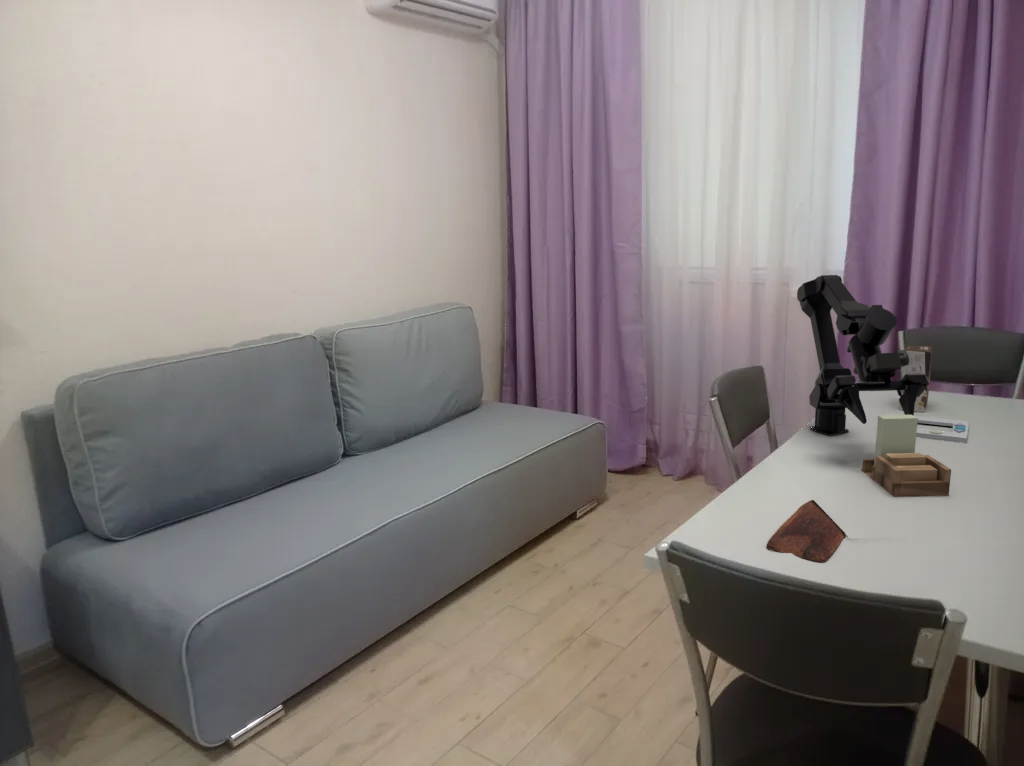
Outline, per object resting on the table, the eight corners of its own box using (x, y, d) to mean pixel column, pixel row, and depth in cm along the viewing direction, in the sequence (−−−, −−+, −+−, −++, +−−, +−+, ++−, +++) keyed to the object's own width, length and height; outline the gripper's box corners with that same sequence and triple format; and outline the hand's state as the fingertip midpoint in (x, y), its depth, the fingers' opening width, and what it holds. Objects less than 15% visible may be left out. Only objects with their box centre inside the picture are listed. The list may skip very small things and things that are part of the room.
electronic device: (969, 419, 181) (967, 436, 169) (968, 428, 182) (966, 445, 170) (886, 411, 191) (878, 426, 179) (885, 419, 191) (877, 435, 179)
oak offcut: (883, 480, 146) (885, 453, 145) (916, 479, 146) (919, 452, 145) (889, 484, 144) (891, 457, 143) (923, 484, 144) (926, 457, 142)
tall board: (873, 472, 151) (878, 415, 148) (906, 471, 150) (911, 414, 148) (879, 477, 148) (883, 419, 145) (912, 476, 148) (917, 418, 145)
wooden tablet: (808, 492, 142) (864, 496, 136) (809, 503, 143) (865, 508, 136) (761, 544, 122) (825, 553, 115) (762, 557, 122) (826, 566, 116)
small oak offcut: (893, 488, 142) (895, 466, 141) (928, 487, 142) (930, 465, 141) (899, 493, 140) (901, 470, 139) (935, 492, 140) (937, 469, 139)
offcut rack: (859, 473, 153) (861, 445, 152) (909, 472, 153) (911, 444, 151) (894, 501, 138) (896, 471, 137) (948, 500, 138) (952, 470, 137)
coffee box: (925, 412, 194) (931, 351, 190) (898, 409, 197) (903, 350, 194) (928, 404, 202) (933, 345, 198) (901, 401, 205) (906, 344, 201)
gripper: (835, 337, 152) (854, 403, 144) (928, 334, 152) (953, 400, 143) (819, 367, 162) (836, 430, 154) (906, 365, 161) (928, 428, 153)
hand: (888, 422), depth 151 cm, fingers open, 9 cm apart
